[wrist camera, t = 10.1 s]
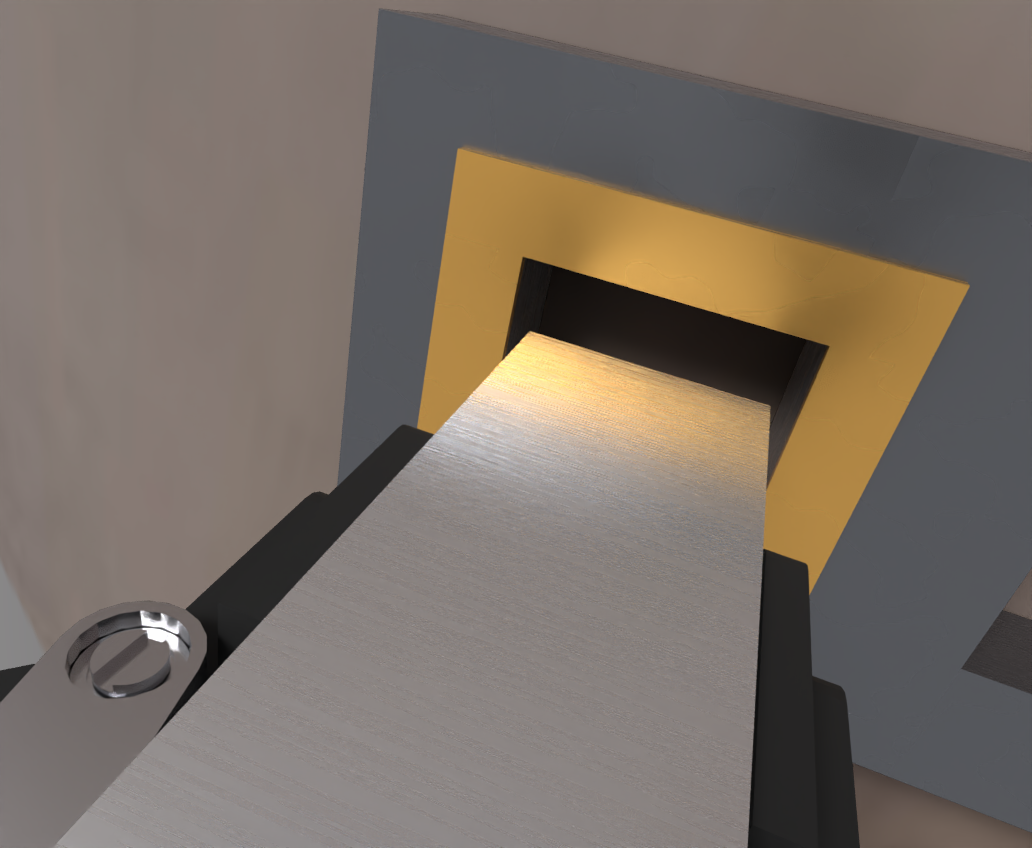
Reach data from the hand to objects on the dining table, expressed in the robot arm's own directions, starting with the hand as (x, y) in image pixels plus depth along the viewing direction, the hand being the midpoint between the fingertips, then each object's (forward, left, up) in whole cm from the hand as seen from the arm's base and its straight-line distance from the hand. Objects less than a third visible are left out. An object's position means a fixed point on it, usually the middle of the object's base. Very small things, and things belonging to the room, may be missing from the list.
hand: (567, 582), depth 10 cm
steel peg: (0, 0, -3) cm, 3 cm away
